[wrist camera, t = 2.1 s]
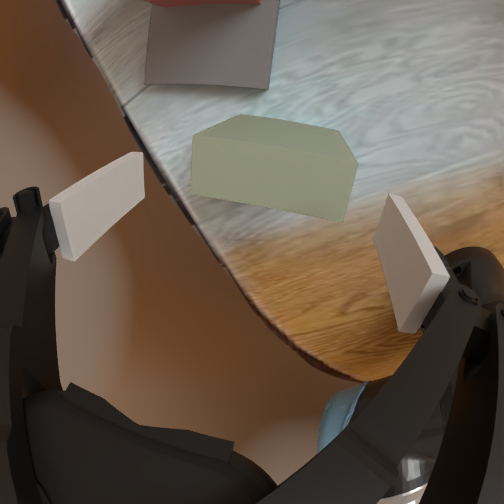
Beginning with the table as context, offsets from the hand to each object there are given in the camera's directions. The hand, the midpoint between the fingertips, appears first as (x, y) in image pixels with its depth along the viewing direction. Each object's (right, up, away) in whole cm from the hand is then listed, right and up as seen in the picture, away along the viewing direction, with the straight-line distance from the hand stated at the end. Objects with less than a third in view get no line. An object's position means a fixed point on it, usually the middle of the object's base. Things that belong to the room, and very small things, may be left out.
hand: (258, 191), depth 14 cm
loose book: (+3, +8, +13) cm, 16 cm away
